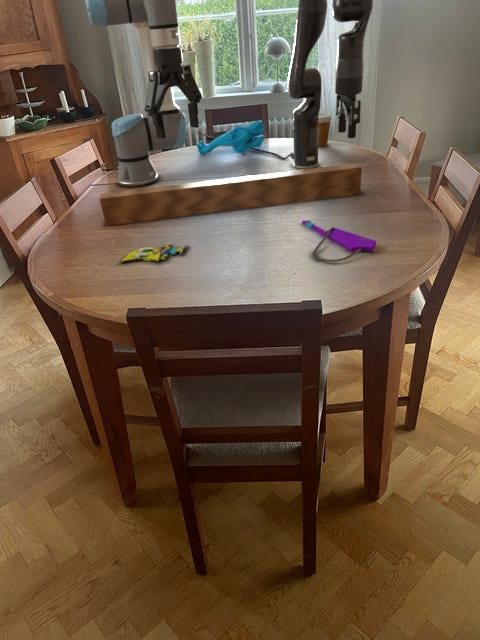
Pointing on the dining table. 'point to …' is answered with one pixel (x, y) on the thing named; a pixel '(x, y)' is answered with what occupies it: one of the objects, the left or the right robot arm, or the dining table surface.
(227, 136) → the toy
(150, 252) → the toy
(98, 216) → the dining table surface
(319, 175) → the post
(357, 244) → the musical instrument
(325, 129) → the disposable coffee cup
